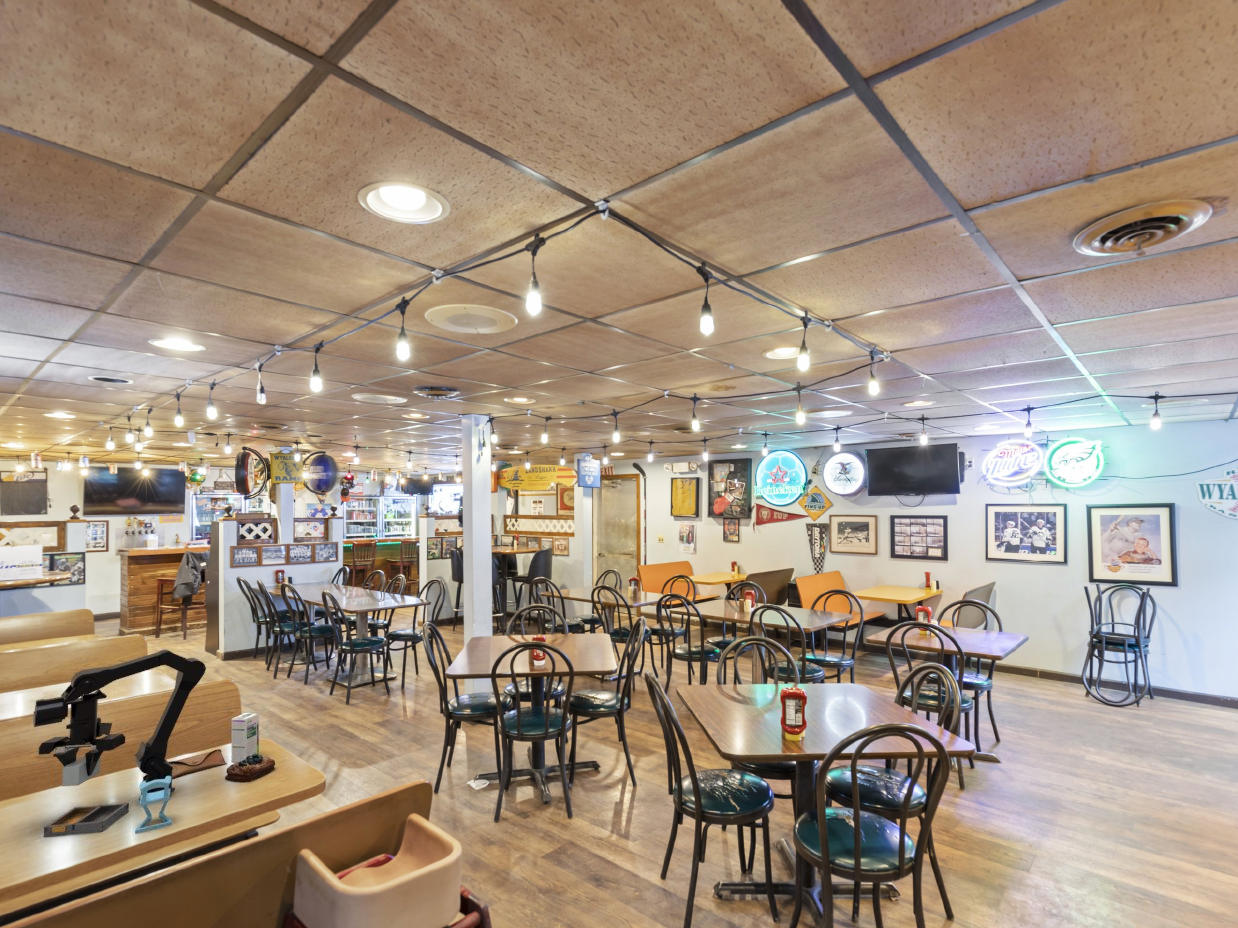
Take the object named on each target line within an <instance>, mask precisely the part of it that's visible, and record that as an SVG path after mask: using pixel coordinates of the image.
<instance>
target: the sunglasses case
mask: <svg viewBox="0 0 1238 928" xmlns="http://www.w3.org/2000/svg"><path fill="white" fill-rule="evenodd" d="M168 762H169V764H170V765H171V766H172V767H173V770H172V780H175V779H179V778H181V777H185V776H187V775H192V774H195V773H198V772H199V773H200V772H203V771H206V770H210V769H214V768H217V767H222V766H226V765H228V763H227V762H226V760H225V759H224V755H223V753H222V750H221V749H214V750H212V751H209V752H205V753H201V754H196V755H192V756H188V757H184V758H182V759H178V760H172V761H168Z"/></svg>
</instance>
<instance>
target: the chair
mask: <svg viewBox="0 0 1238 928" xmlns="http://www.w3.org/2000/svg"><path fill="white" fill-rule="evenodd" d="M142 781H143V780H142ZM142 781H141V782H140V783H139V786H138V787H139V791H140V798H141V799H140V798H139V799H140V801H139V804H138V807H139V808H141V807H142V808H143V810H144V812H145V815H146V818H145V819H143V821H142V822H141V823H140V824H139V825H138V826H137V827H135V831H134V833H135V834H141V833H145V832H149V831H154V830H157V829H161V828H165V827H169V826H171V825H173V820H172V818H170V817H169V816H167V815H166V814H165V810H166V806H167V805H168V802H169V801H170V798H171V797H170V796H171V793H170V789H169V788H168V786H169V784H170V782H171V776H166V778H165V779H158V780H153V781H150V782H148V783H146V781H143V782H142ZM160 787H164V788H165V790H162V791H158V792H153V793H147V791H148V790H151V789H154V788H160ZM141 793H142V795H141ZM162 802H163V803H162ZM156 803H162V806H161V809H160V811H159V813H158V816H159V817H158V818H159V819H160V820H161V821H163V822H161V823H156V824H152V825H148V824H149V823H150V822H151V820H152V818H153V817H152V816H153V815H152V813H151V811H150V810H149V807H148V805H151V804H156ZM146 825H148V826H146Z"/></svg>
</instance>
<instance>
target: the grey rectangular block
mask: <svg viewBox="0 0 1238 928" xmlns="http://www.w3.org/2000/svg"><path fill="white" fill-rule="evenodd" d="M100 769H101V757H100V758H99V760H98V762H97V764H96V766H95V769H94V771H93V773H92V775H90V776H88V774H87V769H86V758H85V755H84V756H82V757H80V758H78V759H76V761H74V762H72V763H70V764H68V765H66V766H63V767H62V778H61V779H62V780H61V781H62V782H61V783H62V784H61V787H75V786H76V787H77V786H81V784H83V783H85V782H87V781H88V780H90V779H92V778H94V777H95V776H98V775H99V774H100V772H101V771H100Z"/></svg>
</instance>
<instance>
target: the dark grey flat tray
mask: <svg viewBox="0 0 1238 928" xmlns="http://www.w3.org/2000/svg"><path fill="white" fill-rule="evenodd" d="M129 808H130V803H129V802H123V803H111V804H98V805H87V806H86V805H85V806H75V807H72V809H70V810H69V811H67V812H65V813H63V814H62V815H61V816H59V817H57V818H56V819H54V820H53V821H52V822H50V823H48V824H47V825H45V826H44V827H43V838H49V837H58V836H59V837H60V836H70V835H81V834H93V833H95V834H96V833H103V832H104V831H106V829H108V828H110V826H112V825H113V824H115V823H116V822H117V821H118V820H120V819H121V818H122V817H123V816H125V815H127V814H128V813H129V810H130V809H129Z"/></svg>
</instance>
